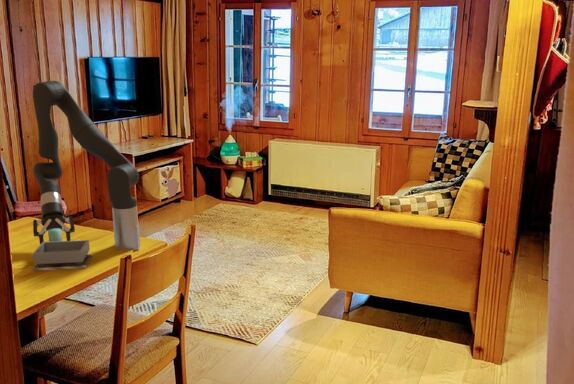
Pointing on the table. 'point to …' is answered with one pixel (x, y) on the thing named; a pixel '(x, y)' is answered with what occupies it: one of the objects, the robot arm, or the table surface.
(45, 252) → the grey shallow tray
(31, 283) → the table surface
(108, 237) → the table surface
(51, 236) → the teal rectangular block
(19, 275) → the table surface
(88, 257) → the rail board
